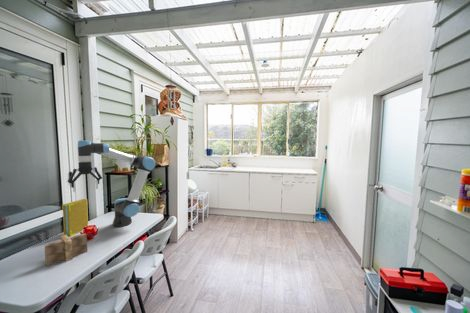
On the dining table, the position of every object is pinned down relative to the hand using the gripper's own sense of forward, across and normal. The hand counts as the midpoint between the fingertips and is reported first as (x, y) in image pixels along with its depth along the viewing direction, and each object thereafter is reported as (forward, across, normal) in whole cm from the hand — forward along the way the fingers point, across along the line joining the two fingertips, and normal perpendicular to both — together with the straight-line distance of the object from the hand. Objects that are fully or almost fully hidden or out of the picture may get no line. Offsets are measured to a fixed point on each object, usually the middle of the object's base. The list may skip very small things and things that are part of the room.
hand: (86, 190), depth 143 cm
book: (+39, 0, -26) cm, 47 cm away
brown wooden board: (+39, +15, +15) cm, 44 cm away
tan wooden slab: (+39, +15, +13) cm, 43 cm away
